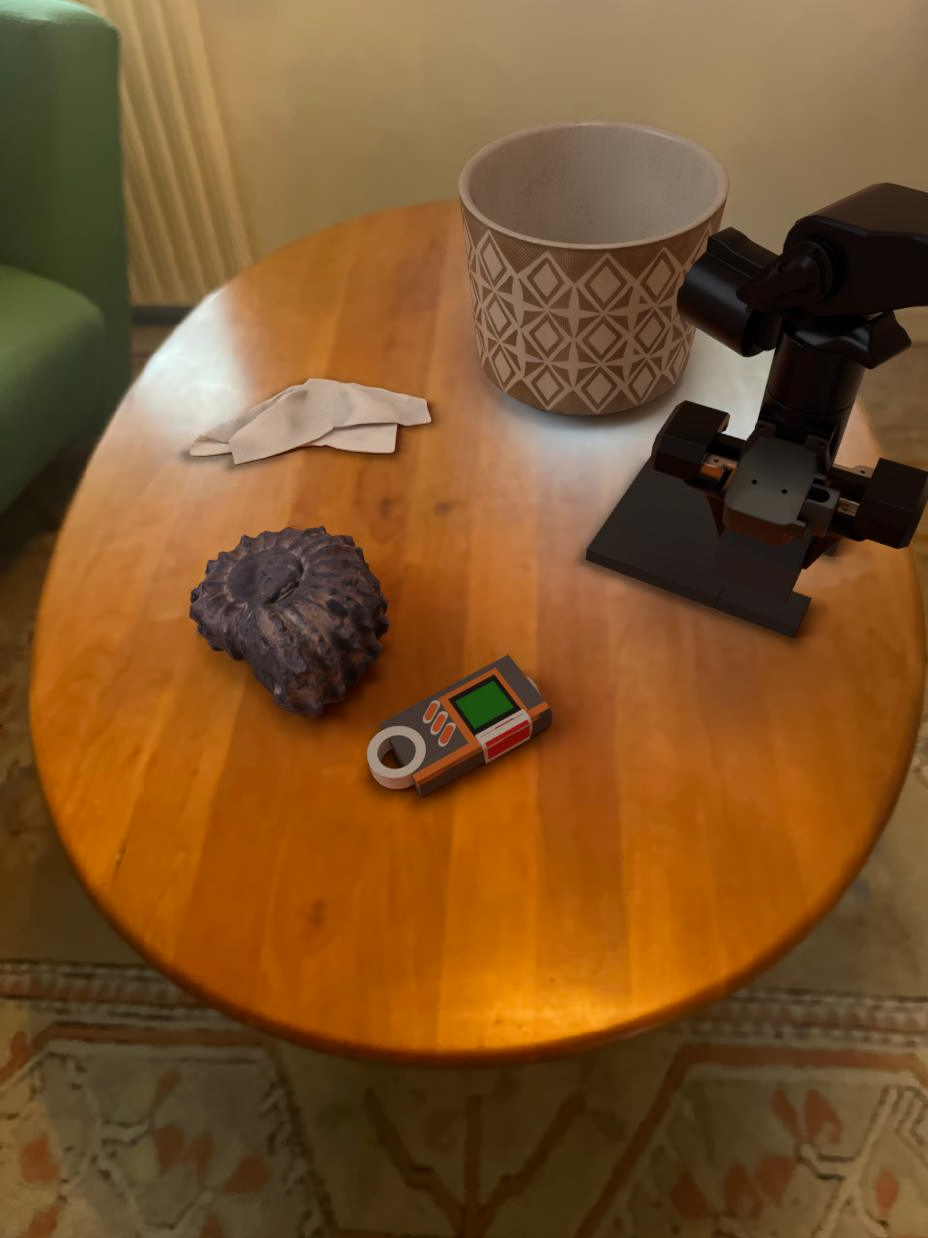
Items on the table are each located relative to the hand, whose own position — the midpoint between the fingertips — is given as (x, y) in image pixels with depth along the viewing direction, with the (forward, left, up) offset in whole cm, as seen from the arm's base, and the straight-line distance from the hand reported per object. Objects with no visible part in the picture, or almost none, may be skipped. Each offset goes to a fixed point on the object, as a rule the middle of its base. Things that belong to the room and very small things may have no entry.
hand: (763, 551), depth 74 cm
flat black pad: (+6, -10, -11) cm, 16 cm away
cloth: (+51, -7, -11) cm, 53 cm away
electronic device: (+16, +21, -11) cm, 29 cm away
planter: (+29, -29, -11) cm, 43 cm away
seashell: (+33, +20, -11) cm, 40 cm away
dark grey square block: (0, 0, -1) cm, 1 cm away
